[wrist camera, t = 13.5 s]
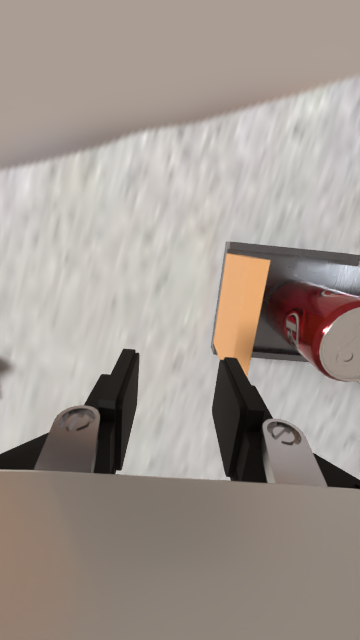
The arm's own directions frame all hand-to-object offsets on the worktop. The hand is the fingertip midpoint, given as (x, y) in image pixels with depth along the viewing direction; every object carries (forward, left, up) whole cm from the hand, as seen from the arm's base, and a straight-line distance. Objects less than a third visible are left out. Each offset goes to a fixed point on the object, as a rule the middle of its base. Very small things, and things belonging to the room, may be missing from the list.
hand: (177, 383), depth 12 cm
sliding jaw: (+6, 0, -19) cm, 20 cm away
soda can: (+15, 0, -20) cm, 25 cm away
